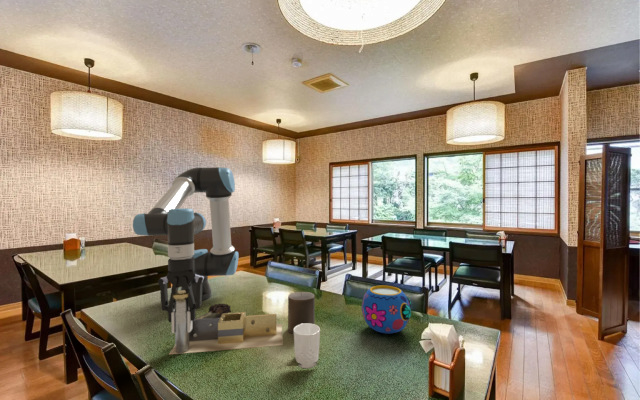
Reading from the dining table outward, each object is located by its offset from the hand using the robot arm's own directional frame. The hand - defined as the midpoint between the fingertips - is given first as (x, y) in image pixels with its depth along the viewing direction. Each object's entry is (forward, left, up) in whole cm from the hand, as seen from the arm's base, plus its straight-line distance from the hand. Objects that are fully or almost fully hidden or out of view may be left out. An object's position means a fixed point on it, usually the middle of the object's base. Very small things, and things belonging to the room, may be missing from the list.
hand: (182, 330), depth 92 cm
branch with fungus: (-24, +4, -8) cm, 25 cm away
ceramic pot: (-5, +70, -8) cm, 70 cm away
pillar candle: (-8, +39, -8) cm, 40 cm away
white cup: (+11, +39, -8) cm, 41 cm away
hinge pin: (0, 0, -6) cm, 6 cm away
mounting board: (-6, +14, -7) cm, 17 cm away
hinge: (-6, +15, -6) cm, 17 cm away
